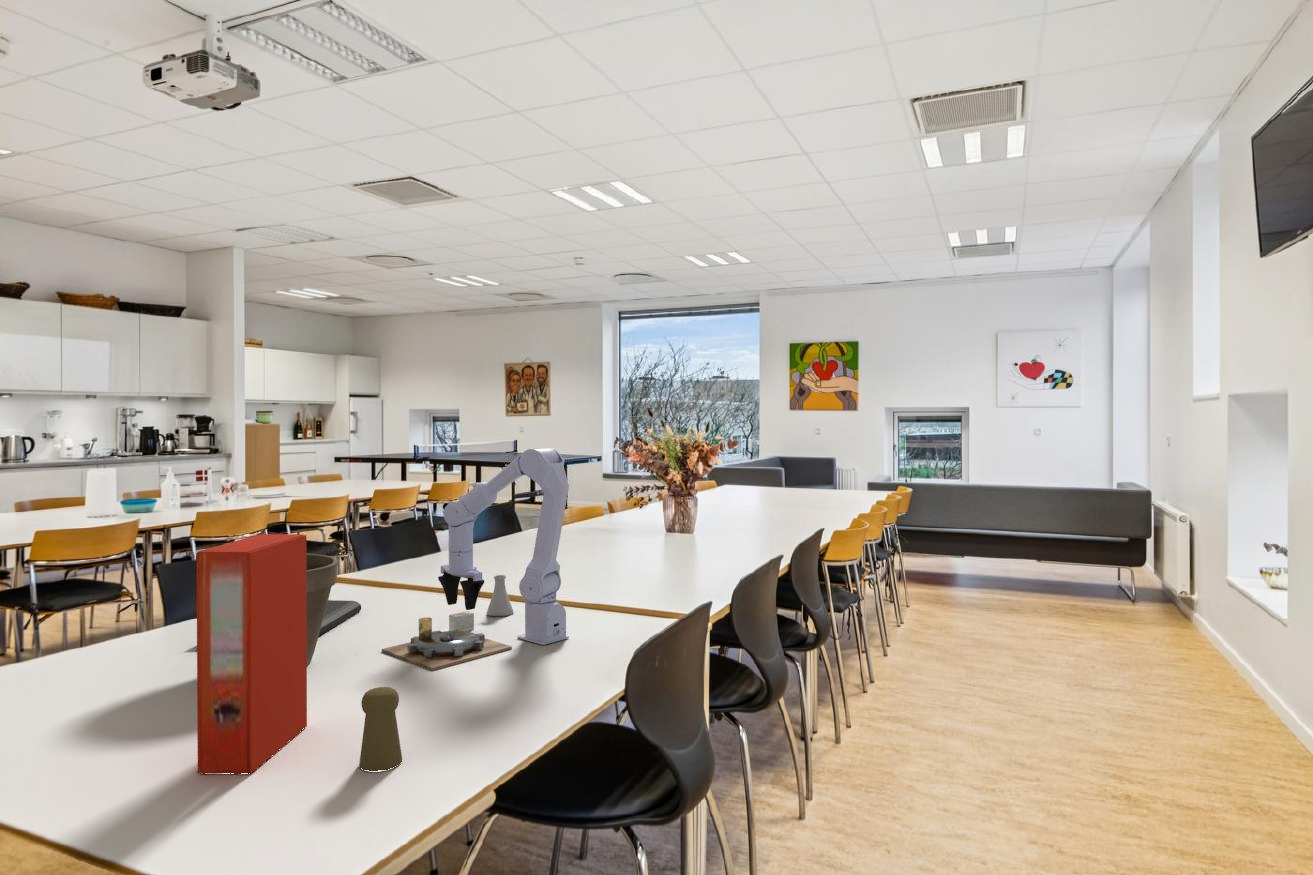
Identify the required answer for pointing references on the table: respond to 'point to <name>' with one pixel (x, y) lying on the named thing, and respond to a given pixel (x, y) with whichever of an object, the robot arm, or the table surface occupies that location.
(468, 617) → the grey rectangular block
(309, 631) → the plant pot
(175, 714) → the table surface
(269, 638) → the file binder
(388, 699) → the olive pawn
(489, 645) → the board
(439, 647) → the sprocket
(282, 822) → the table surface
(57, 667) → the table surface
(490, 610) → the flask
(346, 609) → the closed laptop
